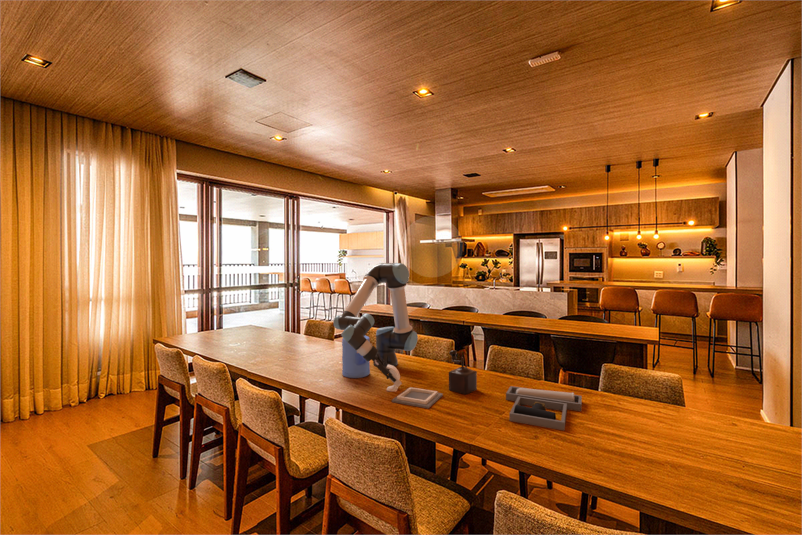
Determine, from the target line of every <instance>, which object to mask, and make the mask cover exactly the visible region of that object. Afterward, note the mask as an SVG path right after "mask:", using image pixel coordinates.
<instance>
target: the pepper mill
mask: <svg viewBox="0 0 802 535" xmlns="http://www.w3.org/2000/svg"><path fill="white" fill-rule="evenodd" d="M457 353H458V352H457V350H455V349H453V350H452V349H451V350H450V351H449V355H450V357H451V362H453V363H461V366H459V367H457V368H455V369H452V370H450V371H449V372H448V391H451V392H454V393H458V394H461V395H469V394H471V393H473V392H475V391H477V386H478V385H477V384H478V383H477V381H478V380H477V376H478V374H477V372H478V371H477V370H473V369H471V368H468V365H465V366H464V361H465V358H464V356H461V359H460V360H456V359H458V358H457Z"/></svg>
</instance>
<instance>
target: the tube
mask: <svg viewBox="0 0 802 535" xmlns="http://www.w3.org/2000/svg"><path fill="white" fill-rule="evenodd" d="M516 394H520V395H527V396H534V397H541V398H548V399H554V400H561V401H568V402H574V395H575V393H574V392H566V391H556V390H555V391H554V390H545V389H535V388H534V389H533V388H528V389H527V387H521V388H518V389H517V390H516Z"/></svg>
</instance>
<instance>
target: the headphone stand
mask: <svg viewBox="0 0 802 535" xmlns="http://www.w3.org/2000/svg"><path fill="white" fill-rule="evenodd" d="M386 368H387V369H390V370H392V371H393V372H394V373H395V374H396V377H397V379H398V380H399V381H400V379H401V377H400V376H401V375H400V371H399V369H397V367H396V366H392V365H387V367H386ZM398 389H399V387H397V386H396V385H395V384H394V383H393V385H390V386H387V388H386V392H397V391H398Z"/></svg>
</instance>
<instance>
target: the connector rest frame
mask: <svg viewBox="0 0 802 535" xmlns="http://www.w3.org/2000/svg"><path fill="white" fill-rule="evenodd" d="M535 402H540V403H544V404H545V408H546V409H548V410H554V411H561V420H558V419H556V420H553V419H547V418H541V417H535V416H529V415H523V414H517V413H514V409H515V406H516V405H520V406H527V407H532V406H533V404H534V403H535ZM567 412H568V409H567V403H560V402H553V401H546V400H540V399H533V398H526V397H519V396H518V397H517V399H516V401H514V403H513V405H512V408H511V409H510V412H509V414H508V416H509V418H508V419H509V422H514V423H518V424H519V423H521V424H526V425H531V426H537V427H543V428H548V429H553V430H559V431H565V428H566V420H567Z"/></svg>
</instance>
